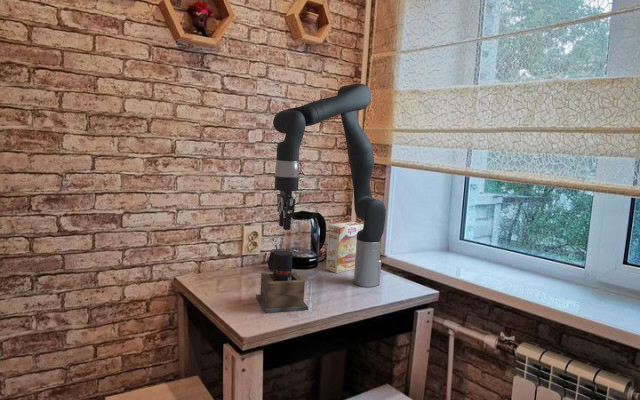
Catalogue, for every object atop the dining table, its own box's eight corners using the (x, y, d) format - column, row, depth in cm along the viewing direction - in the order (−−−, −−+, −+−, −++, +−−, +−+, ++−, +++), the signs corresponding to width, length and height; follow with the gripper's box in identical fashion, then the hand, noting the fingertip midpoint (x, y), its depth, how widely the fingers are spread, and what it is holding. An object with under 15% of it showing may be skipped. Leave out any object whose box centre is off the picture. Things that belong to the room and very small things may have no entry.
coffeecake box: (336, 273, 178) (339, 227, 176) (325, 269, 183) (327, 224, 181) (361, 268, 188) (364, 223, 186) (349, 264, 193) (352, 221, 191)
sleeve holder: (295, 294, 151) (297, 269, 150) (307, 310, 138) (309, 282, 137) (256, 297, 146) (256, 271, 145) (264, 313, 133) (265, 285, 132)
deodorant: (287, 301, 138) (289, 256, 136) (270, 299, 140) (271, 254, 138) (292, 295, 144) (294, 251, 142) (275, 293, 145) (277, 249, 143)
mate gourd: (270, 273, 174) (271, 248, 173) (265, 267, 181) (265, 244, 180) (287, 271, 177) (288, 247, 176) (281, 266, 184) (282, 243, 183)
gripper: (305, 177, 131) (302, 232, 133) (292, 173, 144) (290, 223, 147) (280, 176, 129) (278, 233, 131) (270, 172, 142) (268, 223, 144)
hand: (284, 227), depth 139 cm, fingers open, 5 cm apart
